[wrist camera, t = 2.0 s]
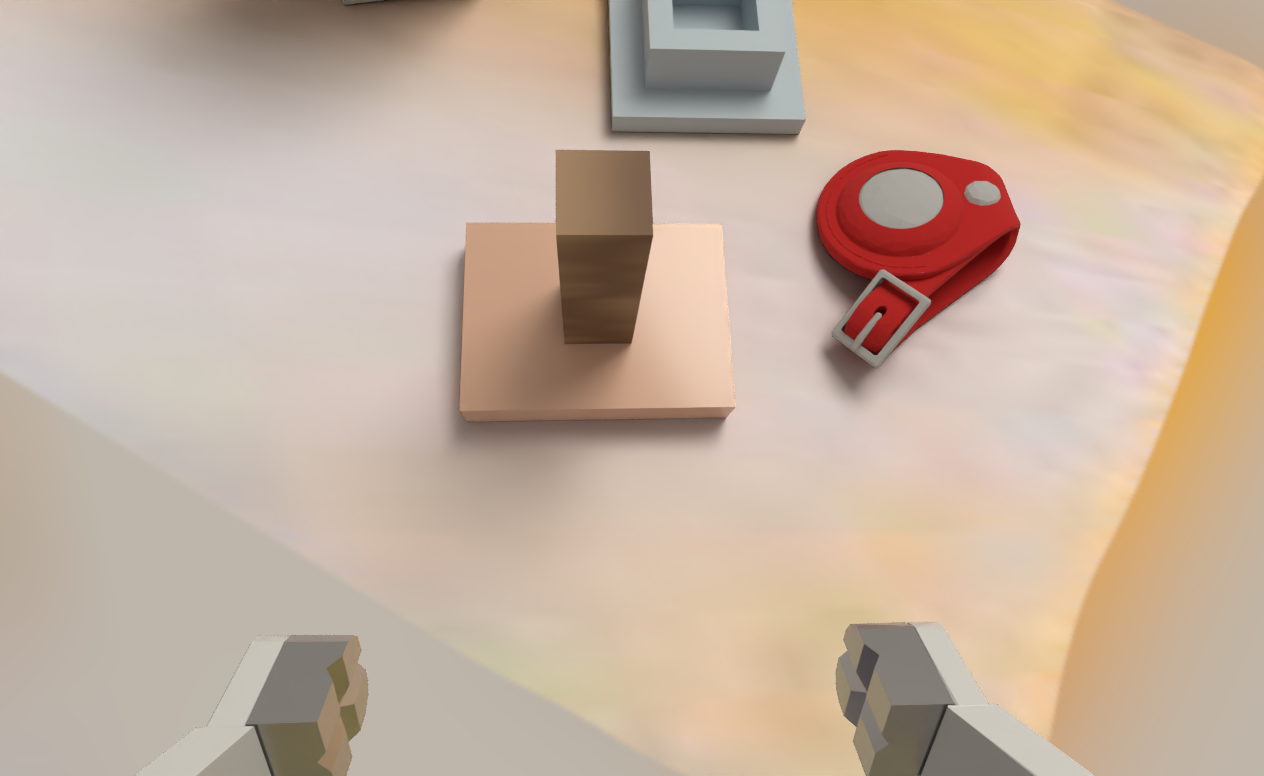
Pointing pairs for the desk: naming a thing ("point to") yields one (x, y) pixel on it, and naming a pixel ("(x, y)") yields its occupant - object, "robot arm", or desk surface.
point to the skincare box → (356, 1)
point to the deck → (593, 373)
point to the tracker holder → (912, 239)
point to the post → (602, 242)
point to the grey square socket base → (705, 66)
